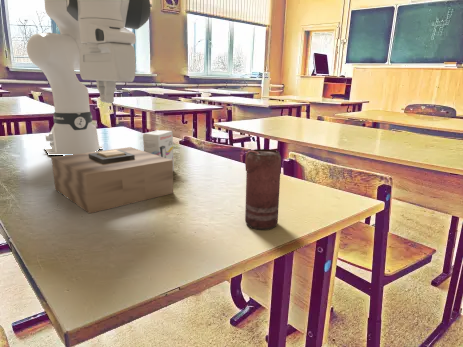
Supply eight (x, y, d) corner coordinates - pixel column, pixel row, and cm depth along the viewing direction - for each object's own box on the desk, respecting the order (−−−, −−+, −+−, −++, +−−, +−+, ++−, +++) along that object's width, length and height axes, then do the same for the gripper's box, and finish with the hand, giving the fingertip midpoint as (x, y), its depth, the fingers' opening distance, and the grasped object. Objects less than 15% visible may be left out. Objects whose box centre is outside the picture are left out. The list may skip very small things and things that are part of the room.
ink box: (160, 178, 97) (158, 135, 94) (143, 176, 98) (141, 133, 95) (175, 170, 105) (173, 130, 102) (159, 169, 106) (157, 129, 103)
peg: (101, 189, 85) (97, 152, 83) (118, 186, 88) (116, 150, 86) (109, 194, 82) (106, 155, 80) (127, 190, 85) (124, 153, 83)
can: (242, 218, 71) (243, 148, 67) (273, 217, 71) (277, 148, 68) (245, 230, 65) (248, 154, 61) (280, 230, 65) (284, 154, 62)
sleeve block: (55, 190, 86) (51, 153, 83) (132, 175, 99) (130, 143, 97) (89, 213, 72) (85, 169, 69) (173, 193, 85) (172, 155, 83)
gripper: (69, 37, 81) (75, 99, 85) (109, 31, 67) (114, 106, 71) (96, 39, 86) (101, 99, 89) (139, 34, 71) (143, 105, 75)
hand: (107, 102), depth 80 cm, fingers closed
